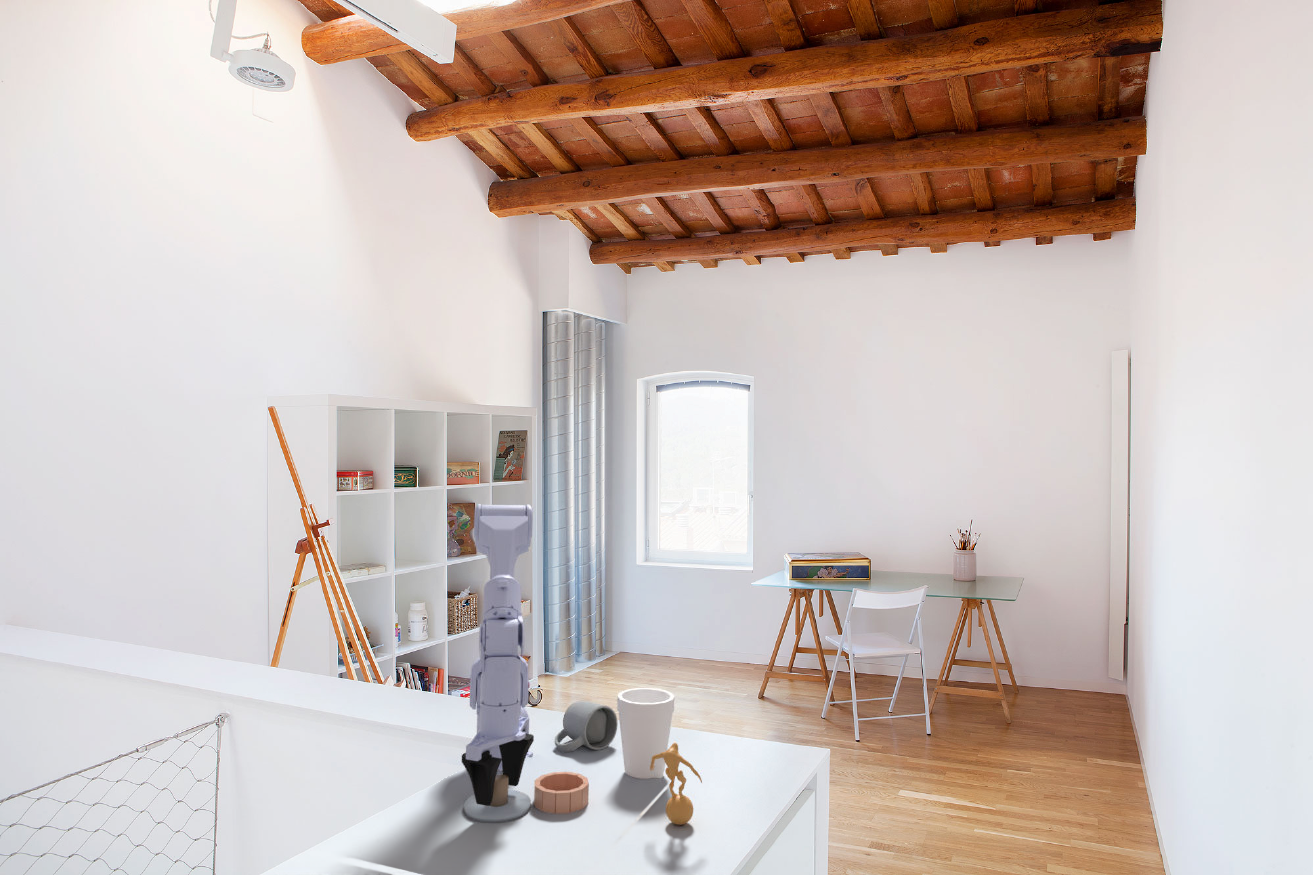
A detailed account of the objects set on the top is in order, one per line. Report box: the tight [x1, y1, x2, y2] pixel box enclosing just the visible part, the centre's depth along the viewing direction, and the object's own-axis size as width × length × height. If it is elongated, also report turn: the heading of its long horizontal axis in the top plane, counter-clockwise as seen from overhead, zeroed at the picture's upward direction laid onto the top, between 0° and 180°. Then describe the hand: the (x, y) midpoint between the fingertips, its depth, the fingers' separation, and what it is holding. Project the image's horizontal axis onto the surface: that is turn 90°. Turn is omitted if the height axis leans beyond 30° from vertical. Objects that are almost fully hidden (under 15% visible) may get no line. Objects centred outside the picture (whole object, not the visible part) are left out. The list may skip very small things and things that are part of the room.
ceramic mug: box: [553, 700, 618, 753], centre depth 149 cm, size 11×8×8 cm
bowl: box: [533, 771, 590, 815], centre depth 122 cm, size 8×8×4 cm
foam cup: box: [616, 687, 675, 780], centre depth 135 cm, size 10×9×13 cm
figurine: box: [650, 742, 703, 826], centre depth 116 cm, size 8×6×12 cm
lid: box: [463, 773, 532, 823], centre depth 120 cm, size 10×10×4 cm
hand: (497, 793), depth 120 cm, fingers open, 7 cm apart
